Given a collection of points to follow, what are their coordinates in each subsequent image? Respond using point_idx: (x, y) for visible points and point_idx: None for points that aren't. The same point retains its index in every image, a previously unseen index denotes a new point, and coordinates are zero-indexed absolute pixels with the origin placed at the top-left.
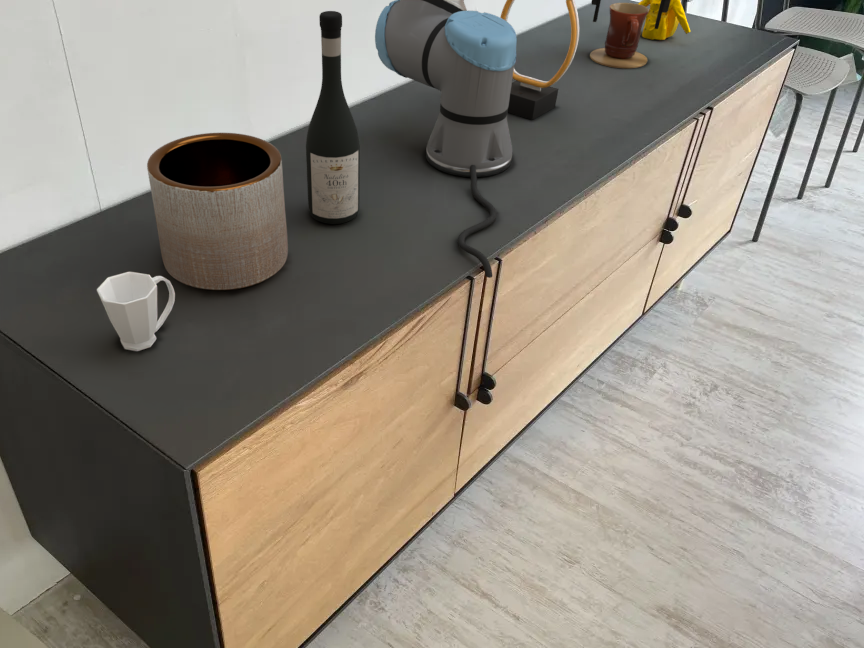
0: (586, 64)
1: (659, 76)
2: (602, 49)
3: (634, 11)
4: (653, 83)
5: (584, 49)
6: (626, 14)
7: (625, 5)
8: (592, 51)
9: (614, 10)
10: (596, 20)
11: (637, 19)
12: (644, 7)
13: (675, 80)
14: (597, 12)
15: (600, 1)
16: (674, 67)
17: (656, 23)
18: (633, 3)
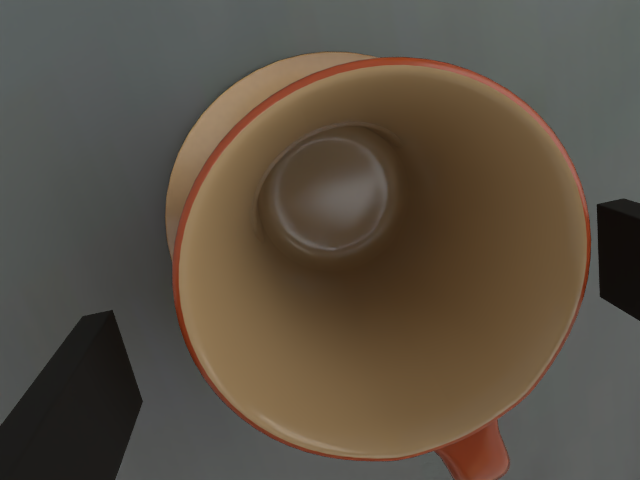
0: (208, 394)
1: (565, 354)
2: (208, 144)
3: (411, 108)
4: (548, 447)
5: (100, 166)
6: (402, 455)
7: (308, 109)
8: (167, 214)
9: (274, 437)
10: (137, 397)
11: (499, 445)
12: (531, 137)
13: (636, 362)
14: (119, 451)
15: (75, 446)
16: (627, 190)
17: (631, 310)
18: (394, 65)
